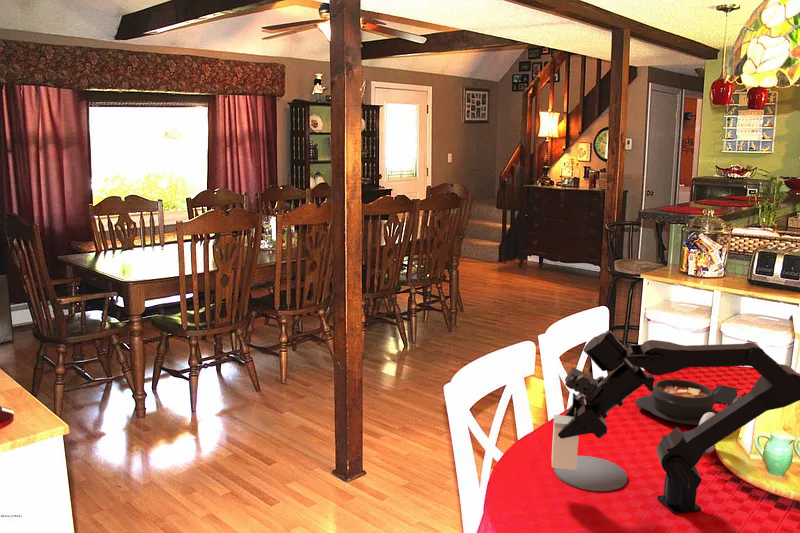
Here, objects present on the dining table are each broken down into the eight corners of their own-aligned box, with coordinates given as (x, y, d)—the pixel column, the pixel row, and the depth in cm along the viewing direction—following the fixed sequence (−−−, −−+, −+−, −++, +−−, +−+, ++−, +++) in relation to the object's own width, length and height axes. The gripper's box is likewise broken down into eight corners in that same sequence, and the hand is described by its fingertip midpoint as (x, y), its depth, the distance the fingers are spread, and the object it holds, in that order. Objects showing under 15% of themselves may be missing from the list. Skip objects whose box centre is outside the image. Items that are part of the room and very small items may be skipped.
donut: (704, 443, 180) (708, 405, 178) (719, 447, 178) (723, 409, 176) (692, 456, 172) (696, 417, 170) (707, 460, 170) (711, 421, 168)
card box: (575, 460, 154) (578, 416, 152) (576, 470, 150) (579, 425, 148) (551, 458, 155) (554, 414, 153) (551, 467, 151) (554, 422, 149)
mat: (640, 488, 156) (641, 485, 156) (573, 494, 153) (573, 491, 152) (605, 455, 171) (605, 453, 171) (542, 460, 168) (543, 458, 168)
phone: (745, 390, 216) (734, 404, 205) (745, 393, 217) (733, 408, 205) (718, 384, 221) (705, 398, 209) (718, 388, 221) (705, 401, 210)
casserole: (622, 413, 198) (625, 384, 197) (651, 396, 212) (654, 369, 210) (714, 441, 182) (718, 409, 180) (740, 421, 195) (743, 391, 193)
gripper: (587, 345, 156) (533, 389, 160) (593, 372, 138) (532, 421, 142) (621, 382, 156) (567, 425, 160) (632, 414, 138) (571, 462, 142)
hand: (559, 432), depth 151 cm, fingers closed on card box, 4 cm apart
